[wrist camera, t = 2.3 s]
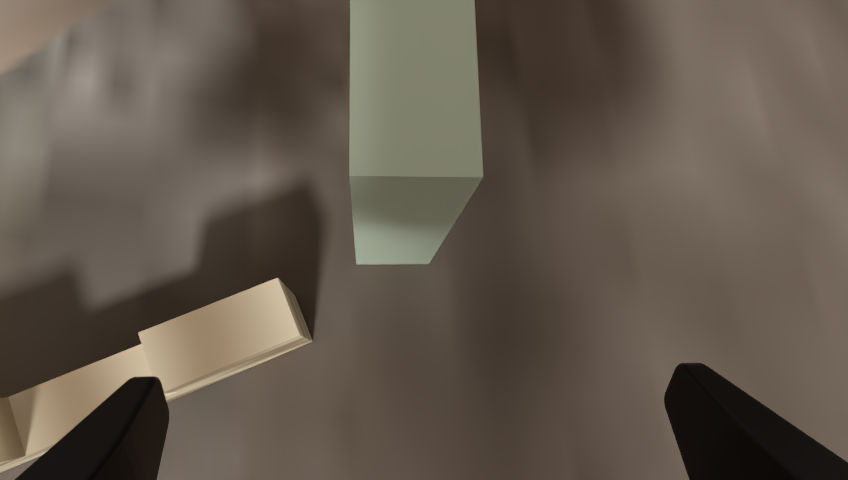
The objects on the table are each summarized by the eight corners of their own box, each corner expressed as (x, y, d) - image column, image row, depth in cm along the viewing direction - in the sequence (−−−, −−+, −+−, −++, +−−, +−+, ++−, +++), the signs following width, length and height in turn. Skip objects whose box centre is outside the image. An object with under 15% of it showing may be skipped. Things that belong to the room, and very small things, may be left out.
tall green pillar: (429, 264, 23) (483, 177, 13) (356, 264, 23) (349, 175, 12) (424, 108, 25) (470, -86, 14) (356, 107, 24) (350, -94, 14)
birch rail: (294, 294, 22) (278, 277, 18) (312, 341, 22) (300, 335, 18) (-81, 445, 20) (-206, 468, 16) (-67, 501, 20) (-191, 539, 15)
